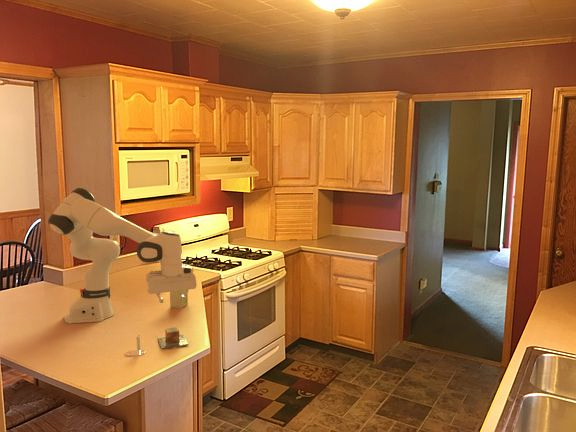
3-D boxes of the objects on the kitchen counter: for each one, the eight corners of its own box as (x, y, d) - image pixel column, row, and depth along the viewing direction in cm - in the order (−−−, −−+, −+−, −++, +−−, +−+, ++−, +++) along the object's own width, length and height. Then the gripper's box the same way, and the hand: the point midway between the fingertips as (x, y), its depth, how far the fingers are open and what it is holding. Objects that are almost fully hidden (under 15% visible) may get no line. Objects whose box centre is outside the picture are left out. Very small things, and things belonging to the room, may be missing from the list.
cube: (167, 344, 207) (167, 332, 206) (165, 339, 212) (165, 328, 211) (179, 342, 209) (179, 331, 208) (177, 338, 214) (177, 326, 213)
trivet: (161, 349, 203) (161, 347, 203) (157, 340, 213) (157, 338, 213) (188, 345, 208) (188, 343, 208) (183, 336, 218) (183, 334, 218)
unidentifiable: (125, 351, 202) (145, 350, 203) (123, 356, 197) (144, 355, 198) (124, 333, 201) (145, 332, 202) (122, 338, 196) (143, 337, 197)
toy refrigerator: (183, 308, 254) (182, 269, 251) (170, 307, 256) (168, 268, 253) (189, 303, 262) (188, 265, 259) (176, 302, 264) (175, 264, 261)
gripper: (147, 273, 199) (148, 306, 202) (197, 268, 208) (197, 300, 210) (145, 270, 205) (146, 301, 207) (193, 265, 213) (194, 296, 215)
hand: (172, 301), depth 209 cm, fingers open, 8 cm apart
